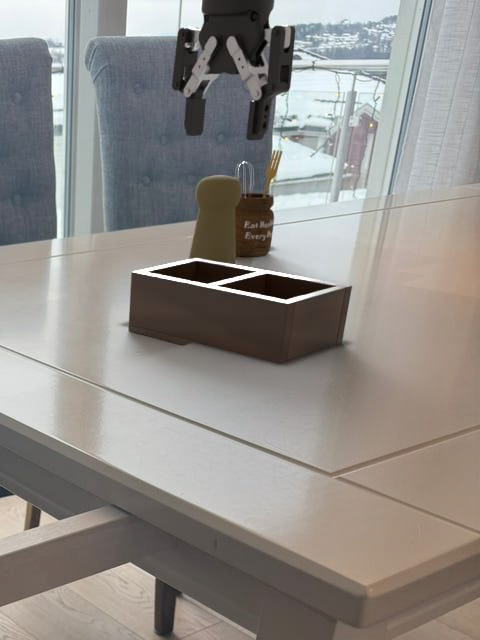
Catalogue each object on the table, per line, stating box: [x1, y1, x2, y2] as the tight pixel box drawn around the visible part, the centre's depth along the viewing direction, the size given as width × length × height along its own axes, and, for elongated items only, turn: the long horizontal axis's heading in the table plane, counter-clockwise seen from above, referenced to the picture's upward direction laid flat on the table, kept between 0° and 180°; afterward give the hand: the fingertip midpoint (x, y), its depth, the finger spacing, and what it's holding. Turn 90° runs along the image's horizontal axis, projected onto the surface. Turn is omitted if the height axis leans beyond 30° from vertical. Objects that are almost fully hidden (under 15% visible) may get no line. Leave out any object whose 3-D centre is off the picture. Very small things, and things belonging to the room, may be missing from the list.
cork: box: [187, 174, 243, 265], centre depth 109 cm, size 6×6×11 cm
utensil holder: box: [234, 149, 283, 258], centre depth 121 cm, size 6×6×12 cm
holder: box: [127, 258, 353, 364], centre depth 88 cm, size 10×18×6 cm, turn 40°
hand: (223, 137), depth 104 cm, fingers open, 8 cm apart
